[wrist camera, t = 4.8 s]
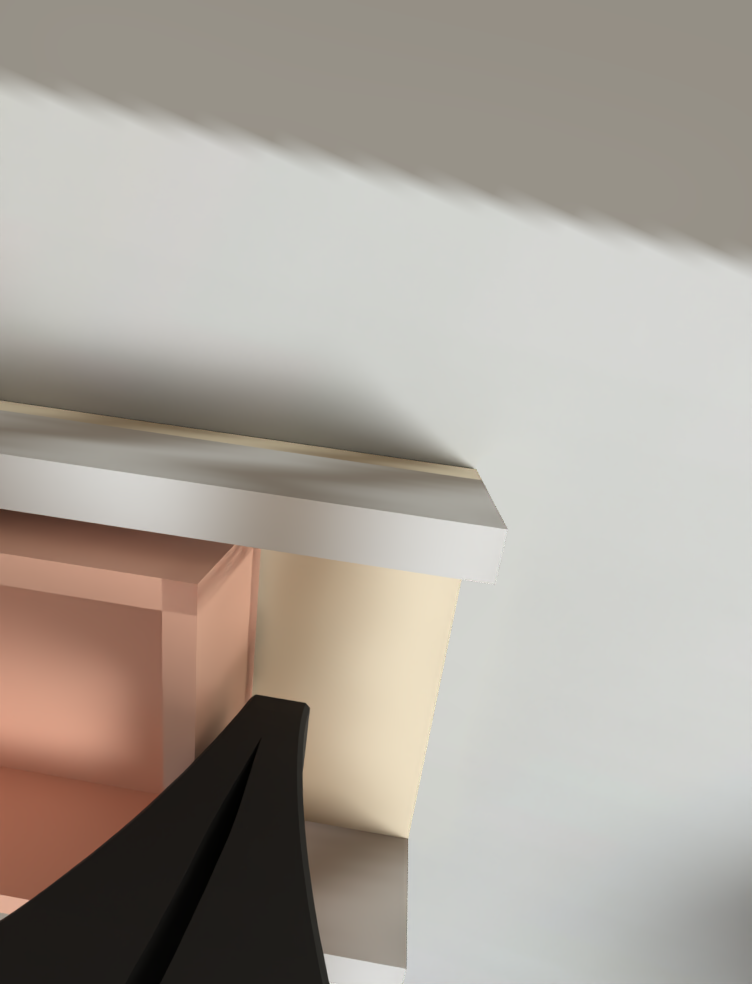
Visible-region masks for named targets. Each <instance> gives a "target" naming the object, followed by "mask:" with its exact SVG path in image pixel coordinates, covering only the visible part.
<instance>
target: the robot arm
mask: <svg viewBox="0 0 752 984" xmlns="http://www.w3.org/2000/svg"><path fill="white" fill-rule="evenodd" d="M309 714H310V707H309V706H308V705H307V704H306V703H304V702H298V701H292V700H286V699H281V698H275V697H269V696H263V695H257V694H256V695H254V696H253V697H251V698H250V699H249V700H248V702H247V703H246V704H245V705H244V707H243V708H242V709H241V710H240V711H239V713H238V714H237V715H236V716H235V717H234V718H233V720H232V721H231V722H230V723H229V724H228V725H227V726H226V727H225V729H224V730H223V731H222V732H221V733H220V734H219V735H218V736H217V737H216V738H215V740H214V741H213V742H212V743H211V744H210V745H209V746H208V747H207V748H206V749H205V750H204V751H203V752H202V753H201V754H200V755H199V756H198V757H197V758H196V759H195V760H194V761H193V763H192V764H191V765H190V766H189V767H188V768H187V769H186V770H185V771H184V772H183V773H182V774H181V775H180V776H179V777H178V778H176V779H175V780H174V781H173V782H172V783H171V784H170V785H169V786H168V787H167V788H166V789H165V790H164V791H163V792H162V793H161V794H159V795H158V796H157V797H156V798H155V799H154V800H153V801H152V802H151V803H150V804H149V805H148V806H147V807H146V808H144V809H143V810H142V811H141V812H140V813H139V814H138V815H137V816H135V817H134V818H133V819H132V820H131V821H130V822H129V823H127V824H126V825H125V826H124V827H123V828H122V829H120V830H119V831H118V832H117V833H116V834H114V835H113V836H112V837H111V838H110V839H108V840H107V841H106V842H105V843H104V844H102V845H101V846H100V847H99V848H98V849H96V850H95V851H94V852H93V853H91V854H90V855H89V856H87V857H86V858H85V859H84V860H82V861H81V862H80V863H78V864H77V865H76V866H74V867H73V868H72V869H71V870H69V871H68V872H67V873H65V874H64V875H63V876H62V877H60V878H59V879H58V880H56V881H55V882H54V883H52V884H51V885H50V886H48V887H47V888H46V889H44V890H43V891H42V892H40V893H39V894H37V895H36V896H35V897H33V898H32V899H31V900H29V901H28V902H26V903H25V904H24V905H22V906H21V907H19V908H18V909H16V910H15V911H14V912H12V913H11V914H9V915H8V916H6V917H5V918H3V919H2V920H0V984H329V979H328V974H327V969H326V964H325V959H324V954H323V949H322V944H321V939H320V934H319V929H318V923H317V917H316V910H315V904H314V898H313V891H312V884H311V877H310V870H309V862H308V853H307V844H306V833H305V820H304V805H303V767H304V758H305V750H306V741H307V732H308V723H309Z"/></svg>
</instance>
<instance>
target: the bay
mask: <svg viewBox="0 0 752 984" xmlns="http://www.w3.org/2000/svg"><path fill="white" fill-rule="evenodd" d="M0 509H6V510H13V511H19V512H26V513H32V514H39V515H45V516H52V517H58V518H65V519H71V520H78V521H84V522H91V523H97V524H104V525H110V526H117V527H123V528H130V529H136V530H143V531H149V532H156V533H162V534H169V535H175V536H182V537H188V538H195V539H201V540H208V541H214V542H221V543H227V544H233V545H240V546H246V547H253V548H259V549H261V555H260V571H259V588H258V604H257V621H256V637H255V654H254V670H253V687H252V697H253V696H254V695H256V694H257V695H263V696H269V697H275V698H281V699H286V700H292V701H298V702H304V703H306V704H307V705H308V706H309V707H310V714H309V723H308V732H307V741H306V750H305V758H304V767H303V805H304V820H305V833H306V844H307V853H308V862H309V870H310V877H311V884H312V891H313V898H314V904H315V910H316V917H317V923H318V929H319V934H320V939H321V944H322V949H323V954H324V959H325V964H326V969H327V974H328V979H329V983H334V984H403V982H404V977H405V973H406V966H407V885H408V837H409V832H410V827H411V822H412V817H413V812H414V808H415V803H416V798H417V793H418V788H419V783H420V778H421V774H422V769H423V764H424V759H425V754H426V749H427V745H428V740H429V735H430V730H431V725H432V720H433V715H434V711H435V706H436V701H437V696H438V691H439V686H440V681H441V677H442V672H443V667H444V662H445V657H446V652H447V647H448V643H449V638H450V633H451V628H452V623H453V618H454V613H455V609H456V604H457V599H458V594H459V589H460V584H461V580H467V581H474V582H480V583H487V584H493V585H495V584H496V579H497V575H498V571H499V566H500V562H501V558H502V553H503V549H504V545H505V540H506V536H507V532H508V529H507V527H506V525H505V523H504V521H503V519H502V517H501V515H500V514H499V512H498V510H497V508H496V506H495V504H494V502H493V500H492V498H491V496H490V495H489V493H488V491H487V489H486V487H485V485H484V483H483V481H482V479H481V478H480V476H479V474H478V472H477V470H476V469H470V468H463V467H456V466H449V465H442V464H435V463H428V462H421V461H415V460H408V459H401V458H394V457H387V456H380V455H373V454H366V453H359V452H352V451H346V450H339V449H332V448H325V447H318V446H311V445H304V444H297V443H290V442H283V441H277V440H270V439H263V438H256V437H249V436H242V435H235V434H228V433H221V432H214V431H208V430H201V429H194V428H187V427H180V426H173V425H166V424H159V423H152V422H145V421H139V420H132V419H125V418H118V417H111V416H104V415H97V414H90V413H83V412H76V411H69V410H63V409H56V408H49V407H42V406H35V405H28V404H21V403H14V402H7V401H0ZM8 915H9V914H5V913H0V920H2V919H3V918H5V917H6V916H8Z"/></svg>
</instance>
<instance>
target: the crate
mask: <svg viewBox="0 0 752 984" xmlns="http://www.w3.org/2000/svg"><path fill="white" fill-rule="evenodd" d="M260 555H261V549H259V548H253V547H246V546H240V545H233V544H227V543H221V542H214V541H208V540H201V539H195V538H188V537H182V536H175V535H169V534H162V533H156V532H149V531H143V530H136V529H130V528H123V527H117V526H110V525H104V524H97V523H91V522H84V521H78V520H71V519H65V518H58V517H52V516H45V515H39V514H32V513H26V512H19V511H13V510H6V509H0V913H5V914H11V913H12V912H14V911H15V910H16V909H18V908H19V907H21V906H22V905H24V904H25V903H26V902H28V901H29V900H31V899H32V898H33V897H35V896H36V895H37V894H39V893H40V892H42V891H43V890H44V889H46V888H47V887H48V886H50V885H51V884H52V883H54V882H55V881H56V880H58V879H59V878H60V877H62V876H63V875H64V874H65V873H67V872H68V871H69V870H71V869H72V868H73V867H74V866H76V865H77V864H78V863H80V862H81V861H82V860H84V859H85V858H86V857H87V856H89V855H90V854H91V853H93V852H94V851H95V850H96V849H98V848H99V847H100V846H101V845H102V844H104V843H105V842H106V841H107V840H108V839H110V838H111V837H112V836H113V835H114V834H116V833H117V832H118V831H119V830H120V829H122V828H123V827H124V826H125V825H126V824H127V823H129V822H130V821H131V820H132V819H133V818H134V817H135V816H137V815H138V814H139V813H140V812H141V811H142V810H143V809H144V808H146V807H147V806H148V805H149V804H150V803H151V802H152V801H153V800H154V799H155V798H156V797H157V796H158V795H159V794H161V793H162V792H163V791H164V790H165V789H166V788H167V787H168V786H169V785H170V784H171V783H172V782H173V781H174V780H175V779H176V778H178V777H179V776H180V775H181V774H182V773H183V772H184V771H185V770H186V769H187V768H188V767H189V766H190V765H191V764H192V763H193V761H194V760H195V759H196V758H197V757H198V756H199V755H200V754H201V753H202V752H203V751H204V750H205V749H206V748H207V747H208V746H209V745H210V744H211V743H212V742H213V741H214V740H215V738H216V737H217V736H218V735H219V734H220V733H221V732H222V731H223V730H224V729H225V727H226V726H227V725H228V724H229V723H230V722H231V721H232V720H233V718H234V717H235V716H236V715H237V714H238V713H239V711H240V710H241V709H242V708H243V707H244V705H245V704H246V703H247V702H248V700H249V699H250V698H251V697H252V687H253V670H254V654H255V637H256V621H257V604H258V588H259V571H260Z"/></svg>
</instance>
